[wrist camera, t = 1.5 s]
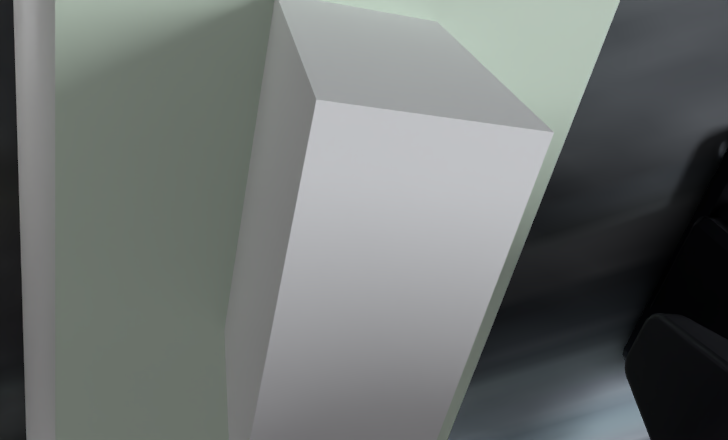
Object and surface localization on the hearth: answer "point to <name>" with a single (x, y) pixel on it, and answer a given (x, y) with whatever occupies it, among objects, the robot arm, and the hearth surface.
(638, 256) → the hearth surface
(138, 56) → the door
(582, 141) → the hearth surface
